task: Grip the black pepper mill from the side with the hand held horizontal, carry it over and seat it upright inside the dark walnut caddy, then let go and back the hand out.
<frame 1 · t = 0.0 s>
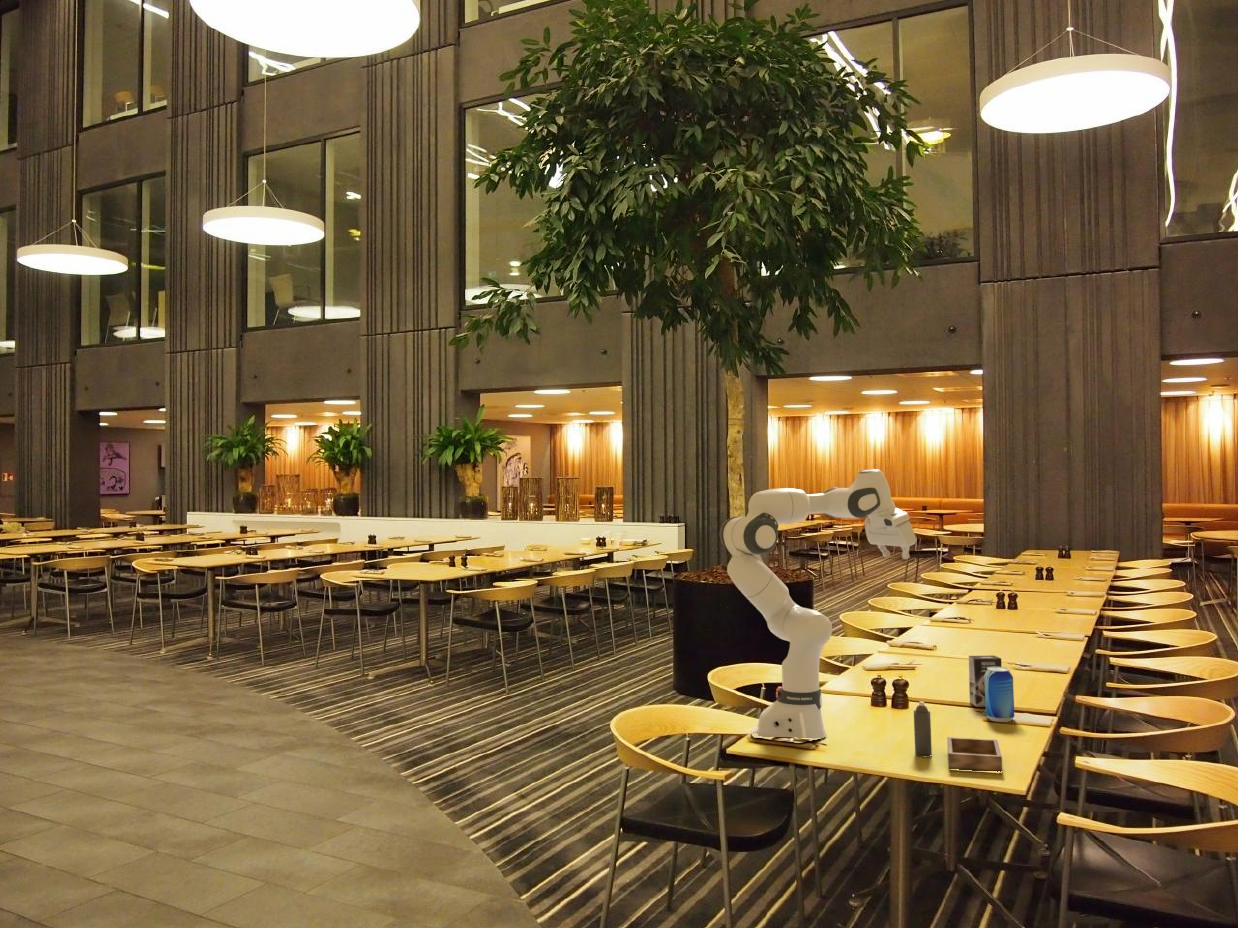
hand: (896, 557, 295), 52 cm above the table, tool tilted 20°, fingers open, 8 cm apart
caddy: (974, 763, 249), on the table
beer can: (1000, 719, 292), on the table
pepper mill: (923, 754, 258), on the table
coffee box: (986, 705, 311), on the table
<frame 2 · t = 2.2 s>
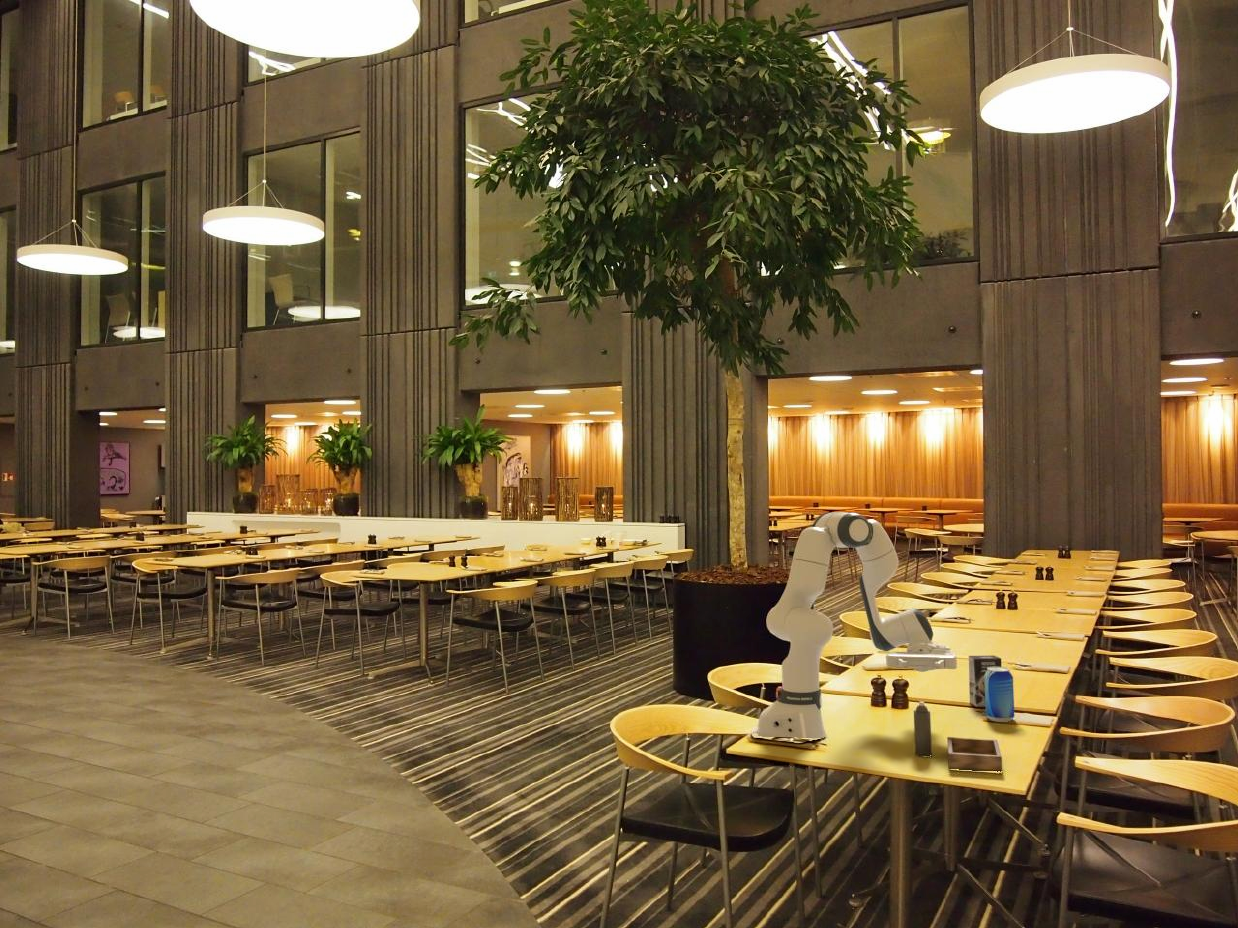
hand: (920, 665, 272), 22 cm above the table, tool horizontal, fingers open, 8 cm apart
nothing on the table moved.
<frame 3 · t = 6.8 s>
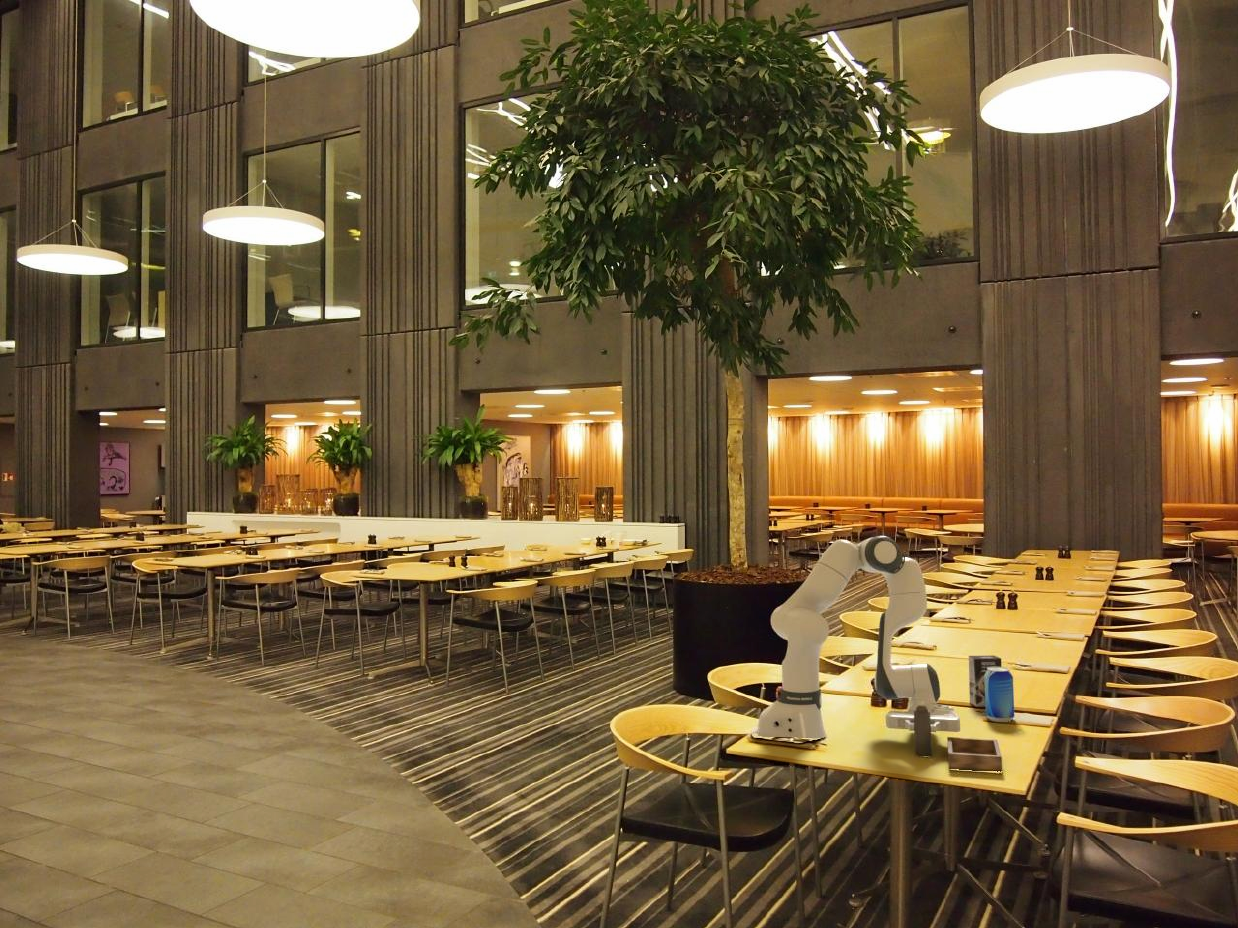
hand: (922, 728, 257), 8 cm above the table, tool horizontal, fingers closed on pepper mill, 4 cm apart
pepper mill: (923, 754, 258), on the table, touching gripper
everything else where it was.
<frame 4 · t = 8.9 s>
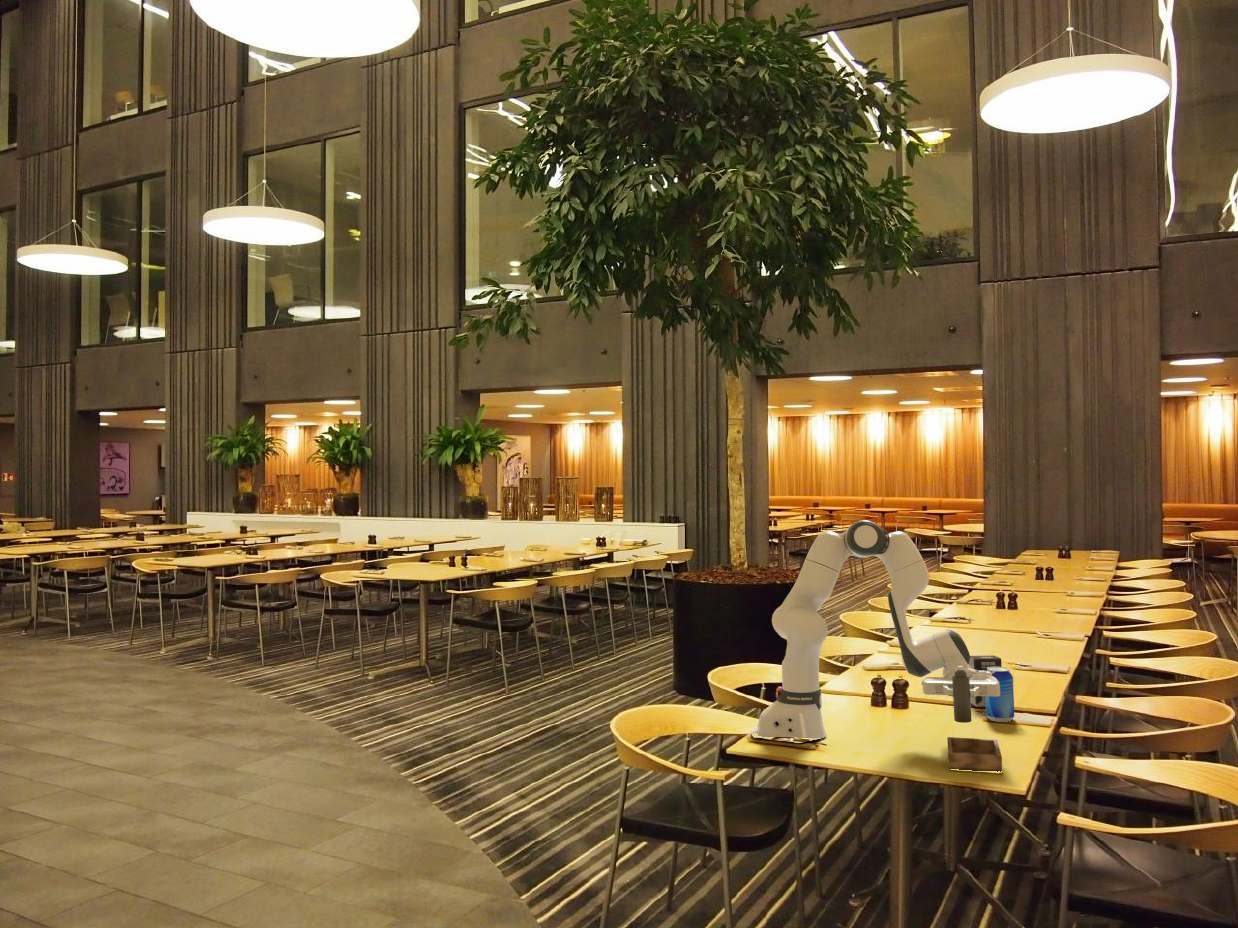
hand: (961, 693, 251), 18 cm above the table, tool horizontal, fingers closed on pepper mill, 4 cm apart
pepper mill: (962, 720, 252), point 11 cm above the table, touching gripper
everything else where it was.
when the fingers open (10 cm above the table, at t = 11.0 s): pepper mill drops 1 cm, resting on caddy.
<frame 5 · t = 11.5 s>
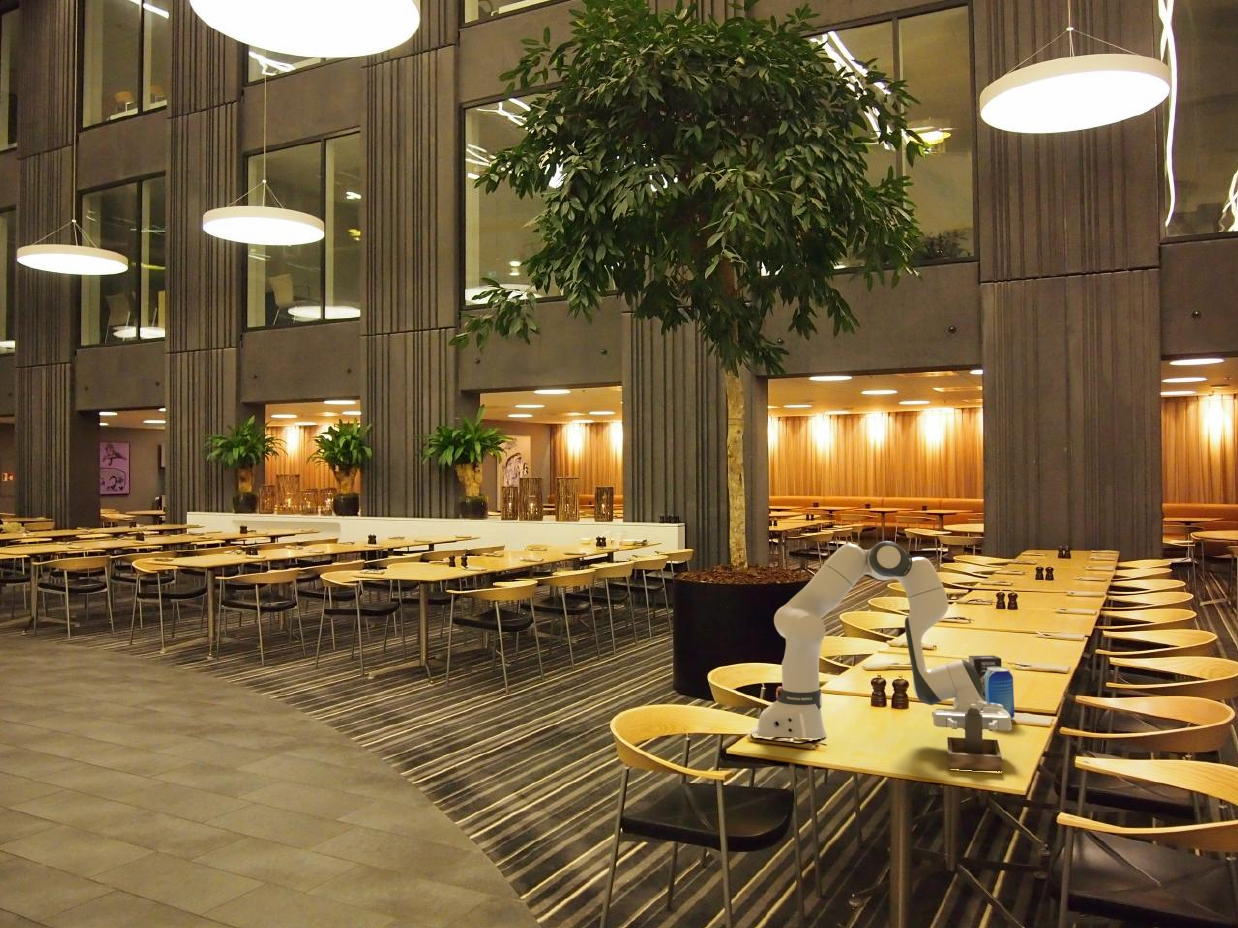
hand: (972, 726, 248), 10 cm above the table, tool horizontal, fingers open, 8 cm apart
pepper mill: (973, 759, 249), point 1 cm above the table, touching caddy
everything else where it was.
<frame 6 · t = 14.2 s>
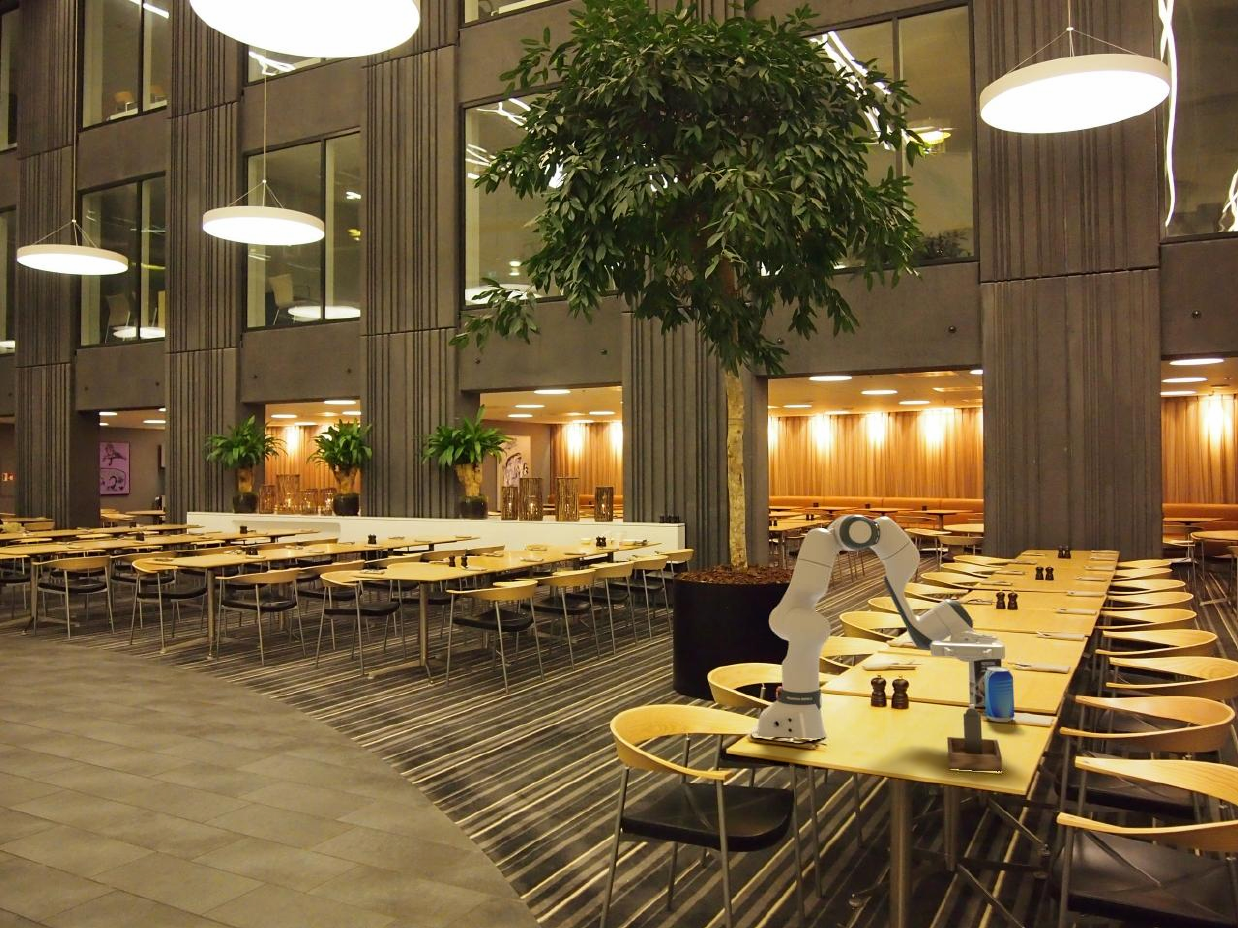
hand: (968, 654, 261), 27 cm above the table, tool horizontal, fingers open, 8 cm apart
nothing on the table moved.
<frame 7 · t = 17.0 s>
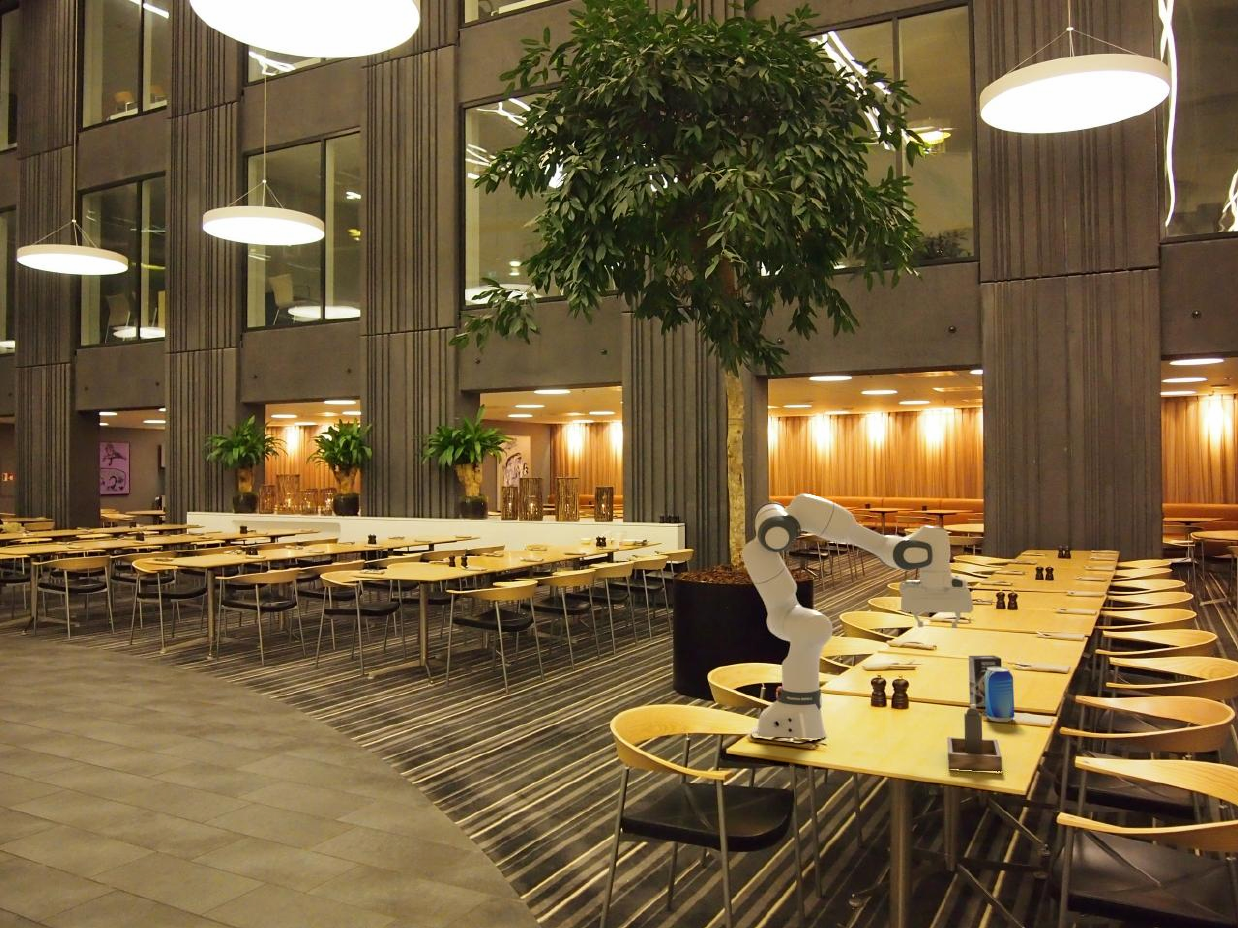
hand: (937, 627, 272), 33 cm above the table, tool pointing down, fingers open, 8 cm apart
nothing on the table moved.
at the end: pepper mill inside the target area on the caddy (0.0 cm from its centre), point 1.0 cm above the caddy's base; pepper mill tilted 1°; the gripper is holding nothing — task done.
